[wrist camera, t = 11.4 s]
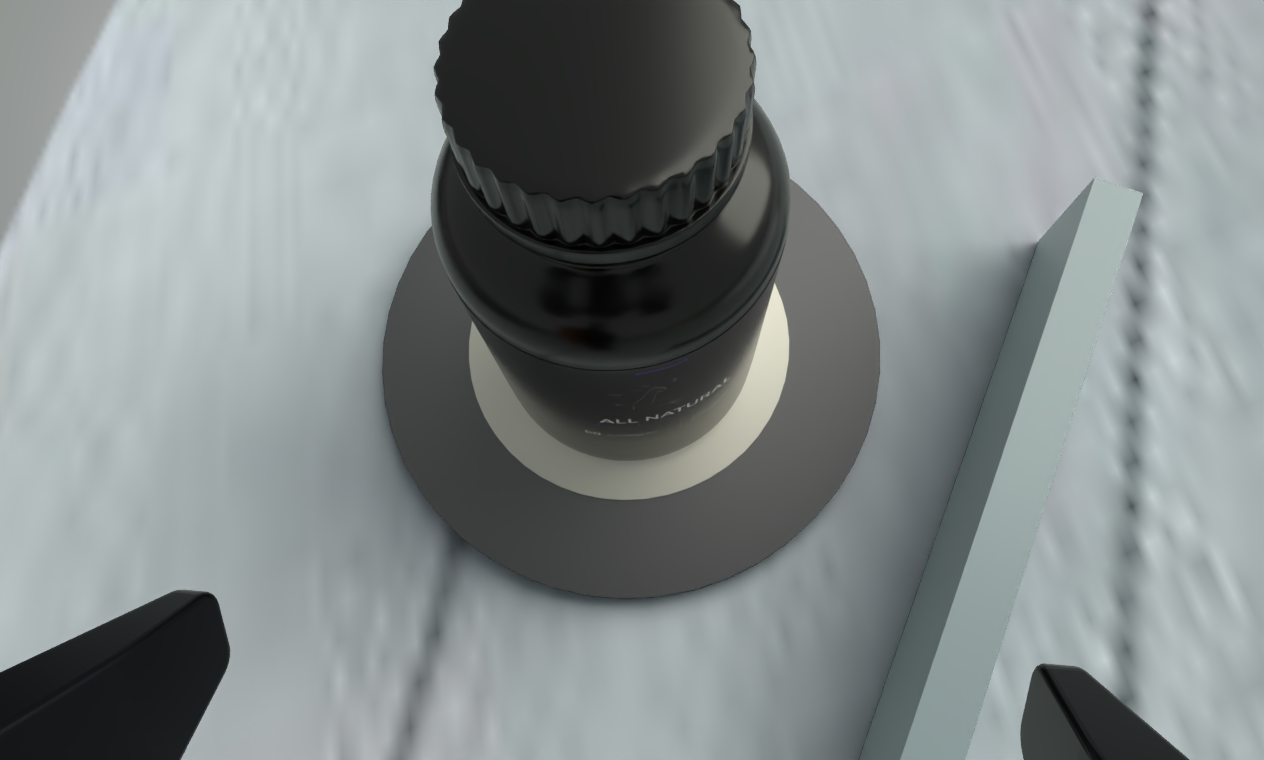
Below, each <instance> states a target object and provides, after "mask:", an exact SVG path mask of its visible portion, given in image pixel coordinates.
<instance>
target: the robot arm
mask: <svg viewBox="0 0 1264 760" xmlns="http://www.w3.org/2000/svg"><path fill="white" fill-rule="evenodd" d="M229 658H230V646H229V642H228V638H227V634H226V630H225V626H224V623H223V619H222V615H221V611H220V607H219V604H218V601H217V599H216V598H215V597H214V595H213V594H211V593H209V592H203V591H192V590H176V591H173V592H170V593H168V594H166V595H164V596H162V597H160V598H158V599H156V600H153V601H151V602H149V603H147V604H145V605H143V606H141V607H139V608H136V609H134V610H132V611H130V612H128V613H126V614H124V615H122V616H119V617H117V618H115V619H113V620H111V621H109V622H107V623H105V624H102V625H100V626H98V627H96V628H94V629H92V630H90V631H88V632H85V633H83V634H81V635H79V636H77V637H75V638H73V639H70V640H68V641H66V642H64V643H62V644H60V645H58V646H56V647H53V648H51V649H49V650H47V651H45V652H43V653H41V654H39V655H36V656H34V657H32V658H30V659H28V660H26V661H24V662H22V663H19V664H17V665H15V666H13V667H11V668H9V669H7V670H5V671H2V672H0V760H181V758H182V756H183V754H184V752H185V750H186V748H187V746H188V744H189V742H190V740H191V738H192V736H193V734H194V732H195V730H196V728H197V726H198V724H199V722H200V721H201V719H202V717H203V715H204V713H205V711H206V709H207V707H208V705H209V703H210V701H211V699H212V697H213V695H214V693H215V691H216V689H217V687H218V685H219V683H220V681H221V679H222V678H223V676H224V674H225V672H226V669H227V666H228V663H229ZM1020 733H1021V748H1022V753H1023V758H1024V760H1189V759H1188V758H1187V757H1186V756H1185V755H1183V754H1182V753H1181V752H1180V751H1179V750H1178V749H1176V748H1175V747H1174V746H1173V745H1172V744H1171V743H1169V742H1168V741H1167V740H1166V739H1165V738H1164V737H1162V736H1161V735H1160V734H1159V733H1158V732H1157V731H1155V730H1154V729H1153V728H1152V727H1151V726H1150V725H1148V724H1147V723H1146V722H1145V721H1144V720H1143V719H1141V718H1140V717H1139V716H1138V715H1137V714H1135V713H1134V712H1133V711H1132V710H1131V709H1130V708H1128V707H1127V706H1126V705H1125V704H1124V703H1123V702H1121V701H1120V700H1119V699H1118V698H1117V697H1116V696H1114V695H1113V694H1112V693H1111V692H1110V691H1109V690H1107V689H1106V688H1105V687H1104V686H1103V685H1102V684H1100V683H1099V682H1098V681H1097V680H1096V679H1095V678H1093V677H1092V676H1091V675H1090V674H1089V673H1087V672H1086V671H1085V670H1083V669H1081V668H1079V667H1075V666H1066V665H1054V664H1041V665H1039V666H1037V667H1036V668H1035V670H1034V671H1033V674H1032V677H1031V682H1030V686H1029V691H1028V695H1027V700H1026V704H1025V709H1024V713H1023V718H1022V723H1021V732H1020Z"/></svg>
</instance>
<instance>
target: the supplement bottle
mask: <svg viewBox="0 0 1264 760" xmlns="http://www.w3.org/2000/svg"><path fill="white" fill-rule="evenodd" d="M439 51H440V56H439V58H438V59H437V61H436V63H435V65H434V74H435V77H436V80H437V83H438V84H437V86H436V90H435V100H436V103H437V106H438V109H439V111H440V113H441V116H442V124H443V128H444V131H445V133H446V136H447V137H446V140H445V142H444V144H443V146H442V149H441V152H440V155H439V158H438V160H437V164H436V168H435V173H434V177H433V183H432V191H431V219H432V229H433V234H434V239H435V244H436V247H437V250H438V253H439V256H440V259H441V262H442V264H443V266H444V269H445V271H446V273H447V275H448V278H449V280H450V282H451V284H452V286H453V288H454V290H455V291H456V293H457V295H458V297H459V298H460V300H461V302H462V304H463V305H464V307H465V309H466V311H467V312H468V314H469V316H470V318H471V319H472V321H473V323H474V324H475V326H476V328H477V330H478V331H479V333H480V335H481V337H482V338H483V340H484V342H485V344H486V345H487V347H488V349H489V351H490V352H491V354H492V356H493V357H494V359H495V361H496V363H497V364H498V366H499V368H500V370H501V371H502V373H503V375H504V377H505V378H506V380H507V382H508V383H509V385H510V387H511V389H512V390H513V392H514V394H515V395H516V397H517V398H518V400H519V401H520V403H521V405H522V406H523V407H524V409H525V410H526V411H527V413H528V414H529V415H530V417H531V418H532V419H533V420H534V421H535V422H536V423H537V424H538V425H539V426H540V427H541V428H542V429H543V430H544V431H546V432H547V433H548V434H549V435H550V436H552V437H553V438H555V439H556V440H557V441H559V442H561V443H562V444H564V445H566V446H568V447H569V448H572V449H574V450H576V451H578V452H581V453H584V454H587V455H590V456H593V457H598V458H602V459H608V460H616V461H636V460H646V459H652V458H656V457H660V456H664V455H667V454H670V453H673V452H675V451H678V450H680V449H682V448H684V447H686V446H688V445H690V444H692V443H694V442H695V441H697V440H698V439H700V438H701V437H703V436H704V435H705V434H707V433H708V432H709V431H710V430H712V429H713V428H714V427H715V426H716V425H717V424H718V423H719V422H720V421H721V420H722V419H723V417H724V416H725V415H726V414H727V413H728V411H729V410H730V409H731V407H732V406H733V404H734V403H735V401H736V399H737V398H738V396H739V394H740V392H741V390H742V388H743V386H744V383H745V381H746V378H747V376H748V372H749V370H750V367H751V364H752V361H753V357H754V354H755V350H756V347H757V343H758V340H759V336H760V333H761V329H762V326H763V322H764V318H765V315H766V311H767V308H768V304H769V301H770V297H771V294H772V290H773V287H774V283H775V280H776V276H777V273H778V269H779V265H780V262H781V258H782V255H783V251H784V247H785V243H786V238H787V233H788V227H789V221H790V211H791V184H790V176H789V170H788V165H787V161H786V157H785V153H784V151H783V148H782V145H781V143H780V140H779V137H778V135H777V134H776V132H775V130H774V128H773V126H772V124H771V122H770V120H769V119H768V117H767V115H766V114H765V112H764V111H763V109H762V108H761V106H760V105H759V104H758V103H757V101H756V100H755V99H754V95H755V86H754V78H755V71H756V57H755V54H754V52H753V50H752V48H751V30H750V28H749V27H748V26H747V25H746V23H745V22H744V21H743V20H742V19H741V9H740V5H738V4H737V3H736V2H735V1H733V0H463V1H462V4H461V7H460V8H459V9H457V10H456V11H455V12H454V13H453V14H452V15H451V16H450V17H449V23H448V30H447V32H446V33H445V34H444V35H443V36H442V37H441V39H440V40H439Z"/></svg>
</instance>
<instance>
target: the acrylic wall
mask: <svg viewBox="0 0 1264 760" xmlns="http://www.w3.org/2000/svg"><path fill="white" fill-rule="evenodd" d="M1142 195H1143V193H1141V192H1138V191H1135V190H1132V189H1129V188H1126V187H1123V186H1120V185H1117V184H1114V183H1111V182H1108V181H1105V180H1102V179H1099V178H1096V177H1095V178H1094V179H1093V180H1092V181H1091V182H1090V183H1089V185H1088V186H1087V187H1086V188H1085V189H1084V190H1083V191H1082V192H1081V194H1080V195H1079V196H1078V197H1077V198H1076V199H1075V200H1074V202H1073V203H1072V204H1071V205H1070V206H1069V207H1068V208H1067V209H1066V211H1065V212H1064V213H1063V214H1062V215H1061V216H1060V217H1059V219H1058V220H1057V221H1056V222H1055V223H1054V224H1053V225H1052V226H1051V228H1050V229H1049V230H1048V231H1047V232H1046V233H1045V234H1044V236H1043V237H1042V238H1041V239H1040V240H1039V242H1038V245H1037V248H1036V251H1035V254H1034V256H1033V259H1032V262H1031V265H1030V268H1029V271H1028V274H1027V277H1026V279H1025V282H1024V285H1023V288H1022V291H1021V294H1020V297H1019V300H1018V303H1017V305H1016V308H1015V311H1014V314H1013V317H1012V320H1011V323H1010V326H1009V328H1008V331H1007V334H1006V337H1005V340H1004V343H1003V346H1002V349H1001V352H1000V354H999V357H998V360H997V363H996V366H995V369H994V372H993V375H992V377H991V380H990V383H989V386H988V389H987V392H986V395H985V398H984V400H983V403H982V406H981V409H980V412H979V415H978V418H977V421H976V424H975V426H974V429H973V432H972V435H971V438H970V441H969V444H968V447H967V449H966V452H965V455H964V458H963V461H962V464H961V467H960V470H959V473H958V475H957V478H956V481H955V484H954V487H953V490H952V493H951V496H950V498H949V501H948V504H947V507H946V510H945V513H944V516H943V519H942V522H941V524H940V527H939V530H938V533H937V536H936V539H935V542H934V545H933V547H932V550H931V553H930V556H929V559H928V562H927V565H926V568H925V571H924V573H923V576H922V579H921V582H920V585H919V588H918V591H917V594H916V596H915V599H914V602H913V605H912V608H911V611H910V614H909V617H908V619H907V622H906V625H905V628H904V631H903V634H902V637H901V640H900V643H899V645H898V648H897V651H896V654H895V657H894V660H893V663H892V666H891V668H890V671H889V674H888V677H887V680H886V683H885V686H884V689H883V692H882V694H881V697H880V700H879V703H878V706H877V709H876V712H875V715H874V717H873V720H872V723H871V726H870V729H869V732H868V735H867V738H866V741H865V743H864V746H863V749H862V752H861V755H860V758H859V760H965V758H966V754H967V751H968V748H969V745H970V742H971V739H972V735H973V732H974V729H975V726H976V723H977V720H978V716H979V713H980V710H981V707H982V704H983V700H984V697H985V694H986V691H987V688H988V685H989V681H990V678H991V675H992V672H993V669H994V665H995V662H996V659H997V656H998V653H999V650H1000V646H1001V643H1002V640H1003V637H1004V634H1005V630H1006V627H1007V624H1008V621H1009V618H1010V615H1011V611H1012V608H1013V605H1014V602H1015V599H1016V595H1017V592H1018V589H1019V586H1020V583H1021V580H1022V576H1023V573H1024V570H1025V567H1026V564H1027V561H1028V557H1029V554H1030V551H1031V548H1032V545H1033V541H1034V538H1035V535H1036V532H1037V529H1038V526H1039V522H1040V519H1041V516H1042V513H1043V510H1044V506H1045V503H1046V500H1047V497H1048V494H1049V491H1050V487H1051V484H1052V481H1053V478H1054V475H1055V471H1056V468H1057V465H1058V462H1059V459H1060V456H1061V452H1062V449H1063V446H1064V443H1065V440H1066V436H1067V433H1068V430H1069V427H1070V424H1071V421H1072V417H1073V414H1074V411H1075V408H1076V405H1077V402H1078V398H1079V395H1080V392H1081V389H1082V386H1083V382H1084V379H1085V376H1086V373H1087V370H1088V367H1089V363H1090V360H1091V357H1092V354H1093V351H1094V347H1095V344H1096V341H1097V338H1098V335H1099V332H1100V328H1101V325H1102V322H1103V319H1104V316H1105V312H1106V309H1107V306H1108V303H1109V300H1110V297H1111V293H1112V290H1113V287H1114V284H1115V281H1116V277H1117V274H1118V271H1119V268H1120V265H1121V262H1122V258H1123V255H1124V252H1125V249H1126V246H1127V243H1128V239H1129V236H1130V233H1131V230H1132V227H1133V223H1134V220H1135V217H1136V214H1137V211H1138V208H1139V204H1140V201H1141V198H1142Z"/></svg>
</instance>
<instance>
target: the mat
mask: <svg viewBox="0 0 1264 760" xmlns="http://www.w3.org/2000/svg"><path fill="white" fill-rule="evenodd" d="M790 184H791V211H790V221H789V227H788V233H787V238H786V243H785V247H784V251H783V255H782V258H781V262H780V265H779V269H778V273H777V276H776V280H775V283H774V287H773V290H772V294H771V297H770V301H769V304H768V308H767V311H766V315H765V318H764V322H763V326H762V329H761V333H760V336H759V340H758V343H757V347H756V350H755V354H754V357H753V361H752V364H751V367H750V370H749V372H748V376H747V378H746V381H745V383H744V386H743V388H742V390H741V392H740V394H739V396H738V398H737V399H736V401H735V403H734V404H733V406H732V407H731V409H730V410H729V411H728V413H727V414H726V415H725V416H724V417H723V419H722V420H721V421H720V422H719V423H718V424H717V425H716V426H715V427H714V428H713V429H712V430H710V431H709V432H708V433H707V434H705V435H704V436H703V437H701V438H700V439H698V440H697V441H695V442H694V443H692V444H690V445H688V446H686V447H684V448H682V449H680V450H678V451H675V452H673V453H670V454H667V455H664V456H660V457H656V458H652V459H646V460H636V461H616V460H608V459H602V458H598V457H593V456H590V455H587V454H584V453H581V452H578V451H576V450H574V449H572V448H569V447H568V446H566V445H564V444H562V443H561V442H559V441H557V440H556V439H555V438H553V437H552V436H550V435H549V434H548V433H547V432H546V431H544V430H543V429H542V428H541V427H540V426H539V425H538V424H537V423H536V422H535V421H534V420H533V419H532V418H531V417H530V415H529V414H528V413H527V411H526V410H525V409H524V407H523V406H522V405H521V403H520V401H519V400H518V398H517V397H516V395H515V394H514V392H513V390H512V389H511V387H510V385H509V383H508V382H507V380H506V378H505V377H504V375H503V373H502V371H501V370H500V368H499V366H498V364H497V363H496V361H495V359H494V357H493V356H492V354H491V352H490V351H489V349H488V347H487V345H486V344H485V342H484V340H483V338H482V337H481V335H480V333H479V331H478V330H477V328H476V326H475V324H474V323H473V321H472V319H471V318H470V316H469V314H468V312H467V311H466V309H465V307H464V305H463V304H462V302H461V300H460V298H459V297H458V295H457V293H456V291H455V290H454V288H453V286H452V284H451V282H450V280H449V278H448V275H447V273H446V271H445V269H444V266H443V264H442V262H441V259H440V256H439V253H438V250H437V247H436V244H435V239H434V234H433V229H432V226H431V228H430V229H429V230H428V231H427V233H426V234H425V236H424V237H423V239H422V240H421V242H420V244H419V245H418V247H417V248H416V250H415V251H414V253H413V255H412V256H411V258H410V260H409V262H408V264H407V266H406V269H405V271H404V273H403V275H402V277H401V279H400V281H399V283H398V286H397V289H396V292H395V296H394V299H393V302H392V305H391V308H390V311H389V316H388V321H387V327H386V332H385V338H384V347H383V370H382V374H383V384H384V395H385V404H386V408H387V412H388V416H389V421H390V425H391V429H392V433H393V436H394V438H395V441H396V443H397V446H398V448H399V451H400V454H401V456H402V459H403V461H404V463H405V465H406V467H407V469H408V470H409V472H410V474H411V476H412V477H413V479H414V481H415V483H416V484H417V486H418V488H419V490H420V491H421V492H422V494H423V495H424V496H425V498H426V499H427V500H428V501H429V503H430V504H431V505H432V507H433V508H434V509H435V511H436V512H437V513H438V514H439V516H440V517H441V518H442V519H443V520H444V521H445V522H446V523H447V524H449V525H450V526H451V527H452V528H453V529H454V530H455V531H456V532H457V533H458V534H459V535H460V536H461V537H462V538H463V539H464V540H465V541H467V542H468V543H470V544H471V545H472V546H474V547H475V548H476V549H478V550H479V551H481V552H482V553H483V554H485V555H486V556H487V557H489V558H490V559H492V560H494V561H496V562H497V563H499V564H501V565H503V566H505V567H507V568H509V569H511V570H512V571H514V572H516V573H518V574H520V575H522V576H524V577H526V578H529V579H532V580H535V581H537V582H540V583H543V584H545V585H548V586H551V587H554V588H556V589H560V590H565V591H570V592H574V593H579V594H583V595H588V596H596V597H609V598H621V599H630V598H648V597H661V596H667V595H672V594H677V593H682V592H687V591H693V590H696V589H699V588H702V587H705V586H708V585H711V584H714V583H717V582H720V581H723V580H726V579H728V578H730V577H732V576H734V575H736V574H738V573H740V572H742V571H744V570H746V569H748V568H750V567H752V566H754V565H756V564H758V563H759V562H761V561H762V560H764V559H765V558H767V557H768V556H770V555H771V554H773V553H774V552H776V551H777V550H779V549H780V548H781V547H783V546H784V545H786V544H787V543H788V542H789V541H790V540H791V539H792V538H794V537H795V536H796V535H797V534H798V533H799V532H800V531H801V530H802V529H804V528H805V527H806V526H807V525H808V524H809V523H810V522H811V521H812V520H813V519H814V518H815V517H816V516H817V515H818V513H819V512H820V511H821V510H822V509H823V507H824V506H825V505H826V504H827V503H828V502H829V500H830V499H831V498H832V497H833V496H834V494H835V493H836V492H837V490H838V489H839V487H840V485H841V484H842V482H843V481H844V479H845V477H846V476H847V474H848V473H849V471H850V469H851V468H852V466H853V465H854V462H855V460H856V458H857V456H858V453H859V451H860V449H861V447H862V444H863V442H864V440H865V437H866V435H867V432H868V429H869V425H870V422H871V418H872V415H873V411H874V407H875V404H876V397H877V390H878V382H879V375H880V339H879V333H878V326H877V319H876V313H875V308H874V305H873V301H872V298H871V294H870V291H869V288H868V284H867V281H866V279H865V276H864V274H863V272H862V270H861V268H860V265H859V263H858V261H857V259H856V256H855V254H854V252H853V251H852V249H851V248H850V246H849V244H848V243H847V241H846V240H845V238H844V236H843V235H842V233H841V232H840V230H839V228H838V227H837V226H836V225H835V223H834V222H833V221H832V220H831V218H830V217H829V216H828V215H827V214H826V212H825V211H824V210H823V209H822V208H821V206H820V205H819V204H818V203H817V202H816V201H815V200H814V199H813V198H811V197H810V196H809V195H808V194H807V193H806V192H805V191H804V190H803V189H802V188H801V187H800V186H799V185H798V184H796V183H795V182H794V181H792V180H791V179H790Z"/></svg>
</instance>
